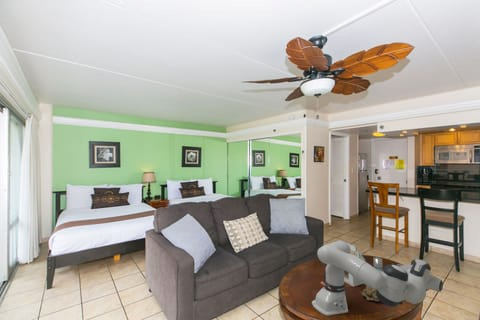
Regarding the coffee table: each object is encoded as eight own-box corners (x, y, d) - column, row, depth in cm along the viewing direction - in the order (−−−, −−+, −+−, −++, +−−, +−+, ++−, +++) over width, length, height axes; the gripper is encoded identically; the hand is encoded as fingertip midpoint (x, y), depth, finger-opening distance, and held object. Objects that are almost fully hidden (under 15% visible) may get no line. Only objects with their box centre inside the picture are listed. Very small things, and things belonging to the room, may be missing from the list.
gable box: (366, 283, 166) (365, 246, 166) (353, 287, 161) (352, 248, 162) (342, 270, 186) (342, 237, 187) (330, 273, 182) (330, 239, 182)
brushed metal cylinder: (379, 276, 172) (378, 260, 172) (372, 272, 177) (371, 257, 177) (384, 274, 174) (384, 259, 174) (377, 271, 179) (376, 256, 180)
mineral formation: (368, 290, 156) (392, 298, 145) (360, 301, 148) (385, 310, 136) (366, 279, 156) (390, 287, 144) (358, 289, 148) (383, 298, 136)
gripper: (404, 282, 148) (384, 273, 161) (422, 276, 156) (401, 267, 169) (404, 273, 148) (383, 264, 161) (422, 267, 156) (401, 259, 169)
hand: (393, 266), depth 165 cm, fingers open, 8 cm apart
